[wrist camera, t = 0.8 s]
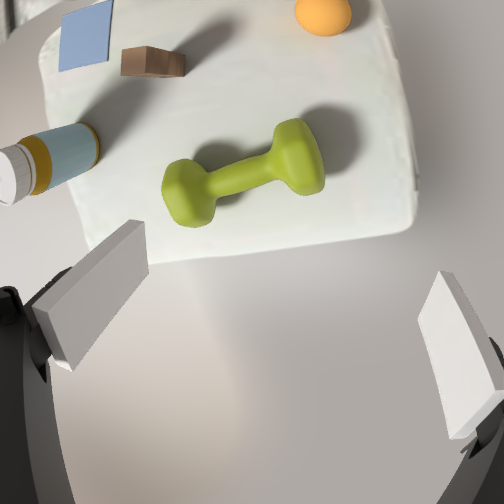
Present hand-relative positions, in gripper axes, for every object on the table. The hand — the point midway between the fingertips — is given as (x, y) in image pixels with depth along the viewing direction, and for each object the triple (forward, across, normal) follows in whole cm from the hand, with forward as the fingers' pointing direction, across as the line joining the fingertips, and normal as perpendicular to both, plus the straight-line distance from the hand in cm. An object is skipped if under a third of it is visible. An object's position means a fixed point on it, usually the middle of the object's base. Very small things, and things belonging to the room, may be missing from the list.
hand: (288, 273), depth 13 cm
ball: (+20, 0, +16) cm, 26 cm away
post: (+23, -16, +10) cm, 29 cm away
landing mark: (+23, -30, +16) cm, 41 cm away
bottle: (+23, -29, 0) cm, 37 cm away
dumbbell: (+23, -6, -2) cm, 24 cm away
